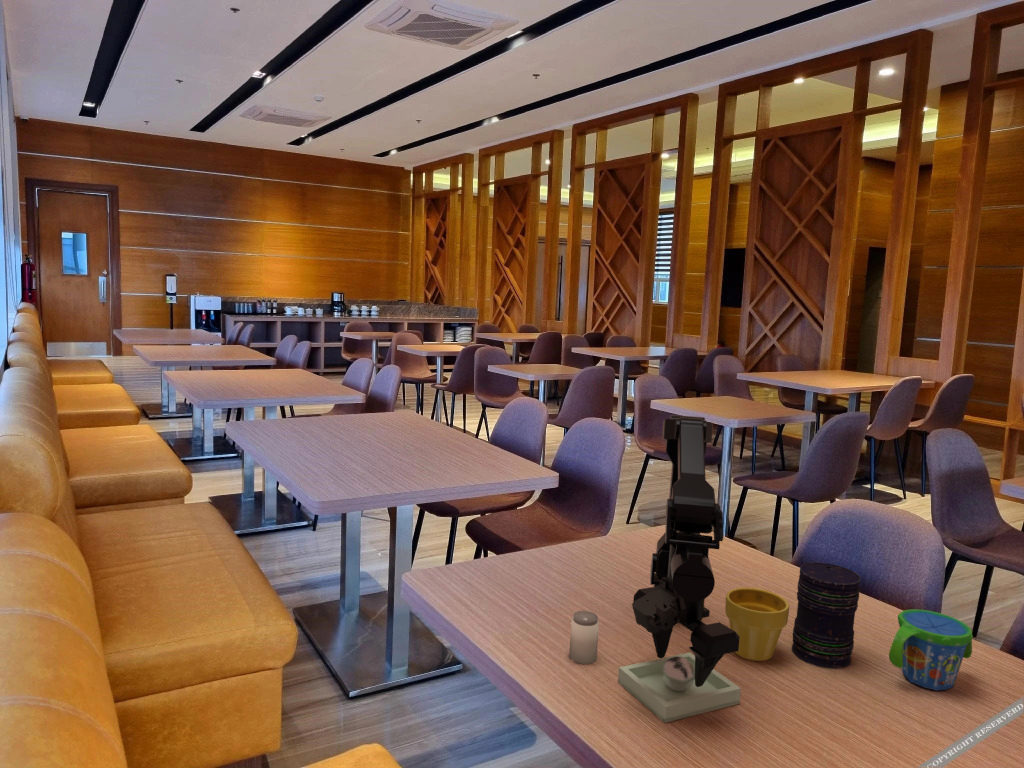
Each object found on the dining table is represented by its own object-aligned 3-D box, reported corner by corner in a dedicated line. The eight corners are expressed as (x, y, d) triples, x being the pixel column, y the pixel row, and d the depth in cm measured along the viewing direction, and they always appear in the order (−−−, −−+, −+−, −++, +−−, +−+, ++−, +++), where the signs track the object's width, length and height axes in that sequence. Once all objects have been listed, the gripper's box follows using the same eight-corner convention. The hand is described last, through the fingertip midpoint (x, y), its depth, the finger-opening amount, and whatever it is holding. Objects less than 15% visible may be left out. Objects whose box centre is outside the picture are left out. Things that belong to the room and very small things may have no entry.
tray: (688, 666, 125) (689, 652, 125) (739, 703, 114) (740, 688, 114) (617, 682, 119) (619, 667, 119) (664, 723, 108) (666, 706, 108)
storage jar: (854, 674, 125) (864, 588, 123) (791, 662, 128) (800, 578, 126) (848, 647, 135) (857, 567, 133) (790, 637, 138) (798, 559, 136)
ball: (680, 678, 120) (682, 648, 119) (700, 694, 115) (703, 663, 115) (654, 684, 118) (656, 654, 117) (674, 700, 113) (676, 668, 113)
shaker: (587, 648, 130) (590, 608, 129) (601, 661, 125) (604, 619, 125) (564, 653, 128) (566, 612, 127) (578, 666, 123) (580, 623, 123)
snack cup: (942, 661, 131) (949, 606, 130) (993, 694, 121) (1001, 634, 120) (864, 667, 128) (871, 610, 126) (910, 701, 118) (918, 639, 116)
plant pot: (752, 672, 124) (757, 616, 123) (709, 644, 133) (713, 592, 132) (797, 660, 129) (802, 606, 128) (752, 634, 138) (757, 583, 137)
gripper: (608, 559, 119) (602, 652, 121) (684, 606, 102) (675, 714, 104) (665, 551, 124) (658, 641, 126) (746, 595, 107) (736, 698, 109)
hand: (679, 671), depth 116 cm, fingers open, 9 cm apart
